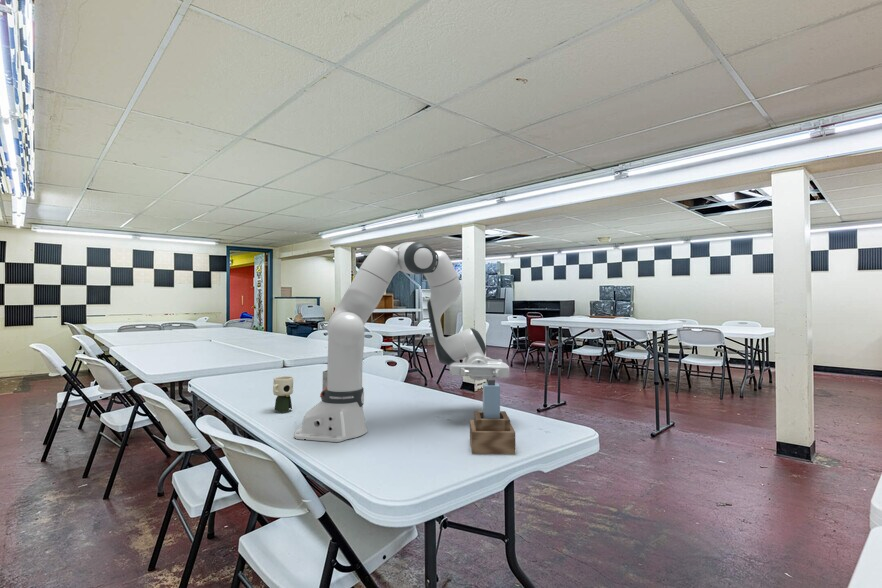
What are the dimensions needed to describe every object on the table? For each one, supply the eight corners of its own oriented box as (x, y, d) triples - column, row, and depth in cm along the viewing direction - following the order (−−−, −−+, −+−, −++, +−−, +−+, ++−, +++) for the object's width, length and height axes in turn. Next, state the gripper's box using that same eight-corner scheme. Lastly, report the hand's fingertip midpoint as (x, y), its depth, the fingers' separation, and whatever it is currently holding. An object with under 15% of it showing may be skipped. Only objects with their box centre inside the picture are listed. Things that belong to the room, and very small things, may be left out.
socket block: (472, 454, 114) (472, 421, 114) (469, 439, 126) (469, 410, 126) (515, 454, 114) (515, 421, 114) (508, 439, 126) (508, 410, 126)
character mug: (281, 416, 152) (281, 380, 152) (265, 414, 154) (265, 379, 154) (300, 408, 162) (300, 375, 162) (284, 407, 164) (285, 374, 165)
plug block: (484, 428, 118) (484, 380, 118) (482, 423, 122) (482, 378, 122) (500, 428, 118) (499, 381, 118) (498, 423, 122) (497, 378, 122)
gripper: (449, 357, 147) (449, 363, 133) (506, 359, 147) (512, 365, 133) (448, 375, 147) (448, 382, 133) (505, 377, 147) (511, 384, 133)
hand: (480, 373), depth 133 cm, fingers open, 8 cm apart
